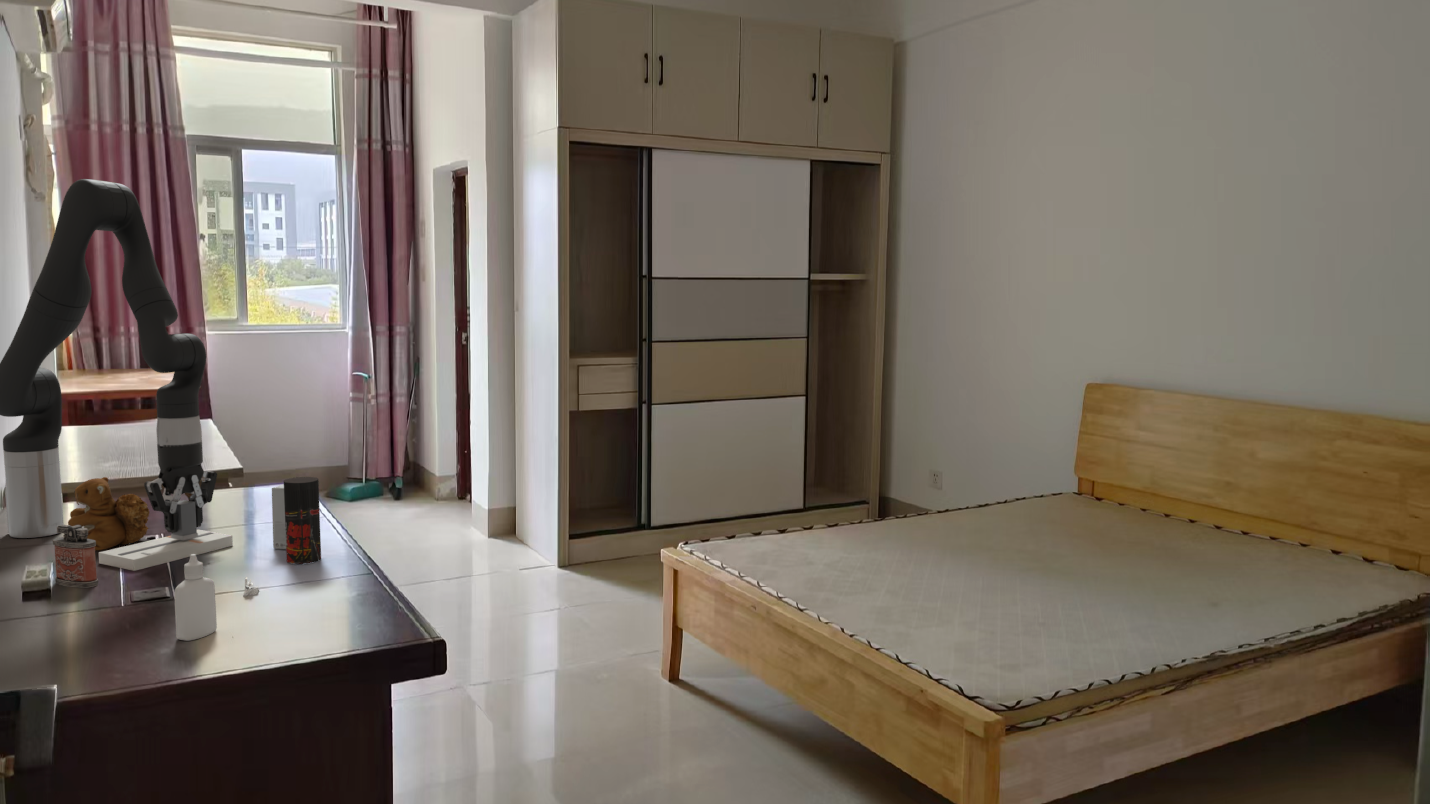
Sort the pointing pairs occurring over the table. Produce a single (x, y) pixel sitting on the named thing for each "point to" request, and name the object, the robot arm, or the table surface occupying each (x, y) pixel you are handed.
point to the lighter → (75, 557)
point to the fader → (185, 521)
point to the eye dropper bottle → (195, 603)
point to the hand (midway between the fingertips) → (184, 528)
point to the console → (163, 550)
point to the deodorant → (302, 520)
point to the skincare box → (278, 517)
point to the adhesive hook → (250, 588)
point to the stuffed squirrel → (109, 514)
